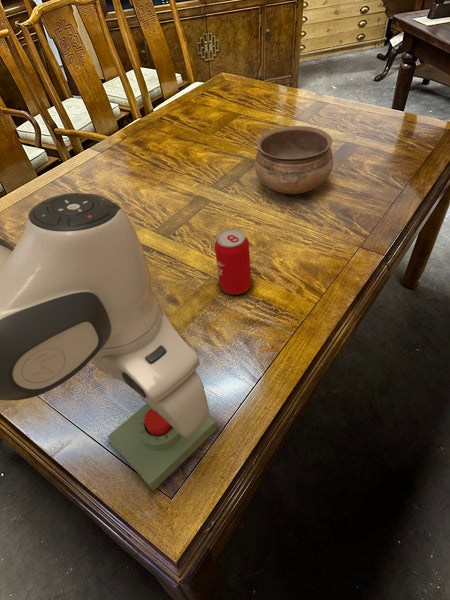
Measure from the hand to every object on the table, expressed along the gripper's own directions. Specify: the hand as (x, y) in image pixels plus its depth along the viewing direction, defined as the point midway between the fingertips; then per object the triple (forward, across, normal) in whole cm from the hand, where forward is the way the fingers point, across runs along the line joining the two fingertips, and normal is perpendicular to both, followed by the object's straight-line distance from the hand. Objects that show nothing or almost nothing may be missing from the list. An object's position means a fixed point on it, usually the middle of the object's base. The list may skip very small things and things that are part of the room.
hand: (152, 401), depth 55 cm
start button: (+6, 0, 0) cm, 6 cm away
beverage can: (+10, -14, +30) cm, 34 cm away
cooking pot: (+10, -28, +66) cm, 72 cm away
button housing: (+9, 0, 0) cm, 9 cm away
